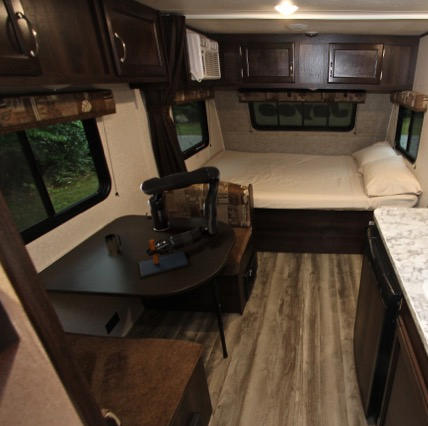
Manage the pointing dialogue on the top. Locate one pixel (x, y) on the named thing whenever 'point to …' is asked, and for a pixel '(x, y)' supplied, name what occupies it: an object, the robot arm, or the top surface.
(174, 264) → the tablet
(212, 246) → the top surface
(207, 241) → the top surface
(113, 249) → the mug
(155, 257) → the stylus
